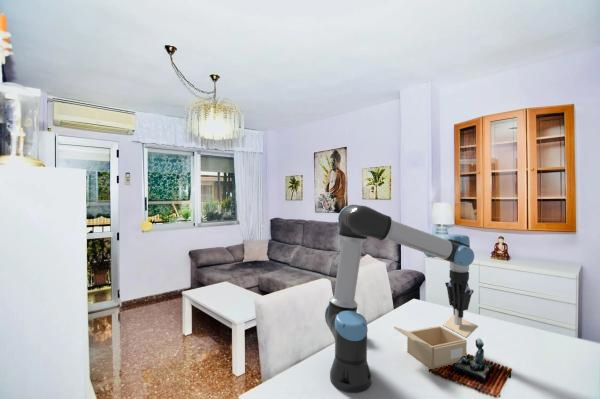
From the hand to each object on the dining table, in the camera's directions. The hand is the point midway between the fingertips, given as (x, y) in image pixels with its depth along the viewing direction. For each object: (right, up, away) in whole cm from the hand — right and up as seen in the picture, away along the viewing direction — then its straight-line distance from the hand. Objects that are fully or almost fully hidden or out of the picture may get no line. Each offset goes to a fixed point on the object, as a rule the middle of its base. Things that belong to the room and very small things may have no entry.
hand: (458, 323), depth 131 cm
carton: (-12, -12, -4) cm, 17 cm away
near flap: (-20, -3, -7) cm, 22 cm away
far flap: (-2, -3, -1) cm, 4 cm away
